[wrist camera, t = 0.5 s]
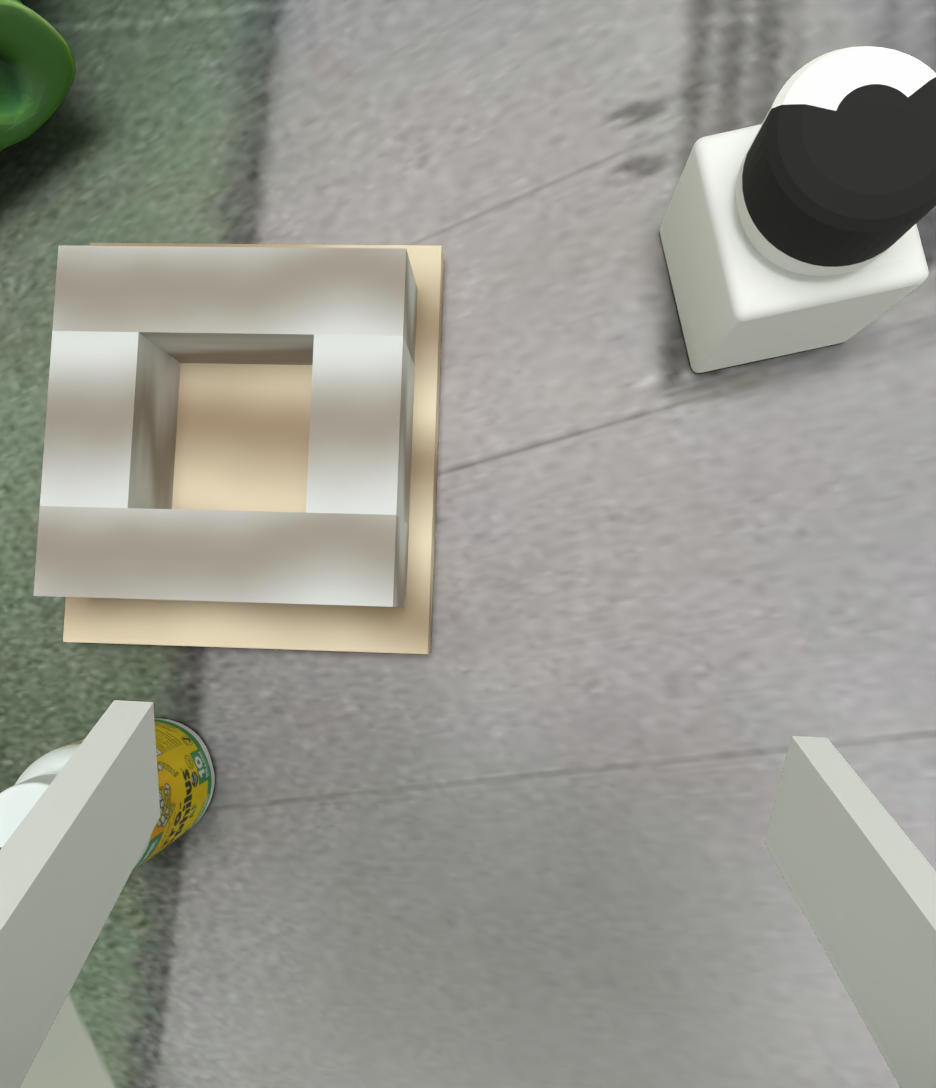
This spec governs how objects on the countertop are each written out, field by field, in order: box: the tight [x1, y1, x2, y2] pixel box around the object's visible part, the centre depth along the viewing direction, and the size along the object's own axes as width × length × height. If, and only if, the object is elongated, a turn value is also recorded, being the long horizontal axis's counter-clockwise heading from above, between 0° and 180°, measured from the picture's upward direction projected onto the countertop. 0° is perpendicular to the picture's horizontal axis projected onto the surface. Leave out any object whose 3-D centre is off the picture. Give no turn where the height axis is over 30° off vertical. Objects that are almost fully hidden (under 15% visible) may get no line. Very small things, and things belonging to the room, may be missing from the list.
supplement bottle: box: [0, 718, 215, 871], centre depth 30 cm, size 5×5×10 cm
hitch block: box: [34, 243, 444, 654], centre depth 33 cm, size 18×16×6 cm
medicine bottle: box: [660, 46, 936, 373], centre depth 30 cm, size 7×7×12 cm
